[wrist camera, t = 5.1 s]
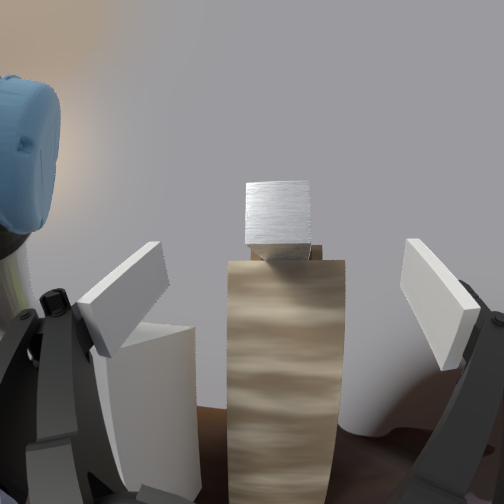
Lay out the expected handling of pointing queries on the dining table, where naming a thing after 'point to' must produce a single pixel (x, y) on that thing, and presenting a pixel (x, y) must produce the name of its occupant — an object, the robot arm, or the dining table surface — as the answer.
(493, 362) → the robot arm
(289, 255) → the bar
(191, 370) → the tall white box
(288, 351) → the zigzag patterned box
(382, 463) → the dining table surface
